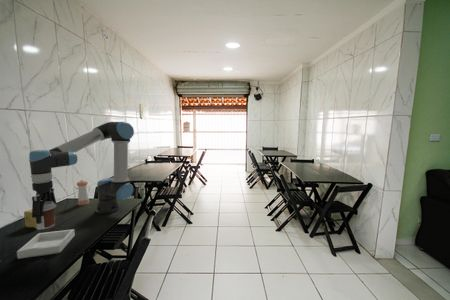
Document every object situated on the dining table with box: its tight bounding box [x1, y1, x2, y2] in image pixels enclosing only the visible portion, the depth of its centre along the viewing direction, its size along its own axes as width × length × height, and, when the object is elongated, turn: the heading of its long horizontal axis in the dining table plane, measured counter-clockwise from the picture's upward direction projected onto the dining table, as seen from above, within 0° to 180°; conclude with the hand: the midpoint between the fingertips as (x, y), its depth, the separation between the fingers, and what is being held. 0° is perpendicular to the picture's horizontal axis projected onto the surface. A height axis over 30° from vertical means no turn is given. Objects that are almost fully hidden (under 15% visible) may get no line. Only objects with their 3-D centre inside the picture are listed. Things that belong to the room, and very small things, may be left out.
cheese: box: [23, 208, 37, 229], centre depth 126 cm, size 10×11×10 cm
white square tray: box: [16, 228, 76, 260], centre depth 103 cm, size 17×17×4 cm
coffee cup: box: [42, 201, 57, 230], centre depth 102 cm, size 9×9×12 cm
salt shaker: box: [76, 179, 90, 206], centre depth 158 cm, size 7×7×19 cm
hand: (46, 224), depth 102 cm, fingers closed on coffee cup, 9 cm apart
